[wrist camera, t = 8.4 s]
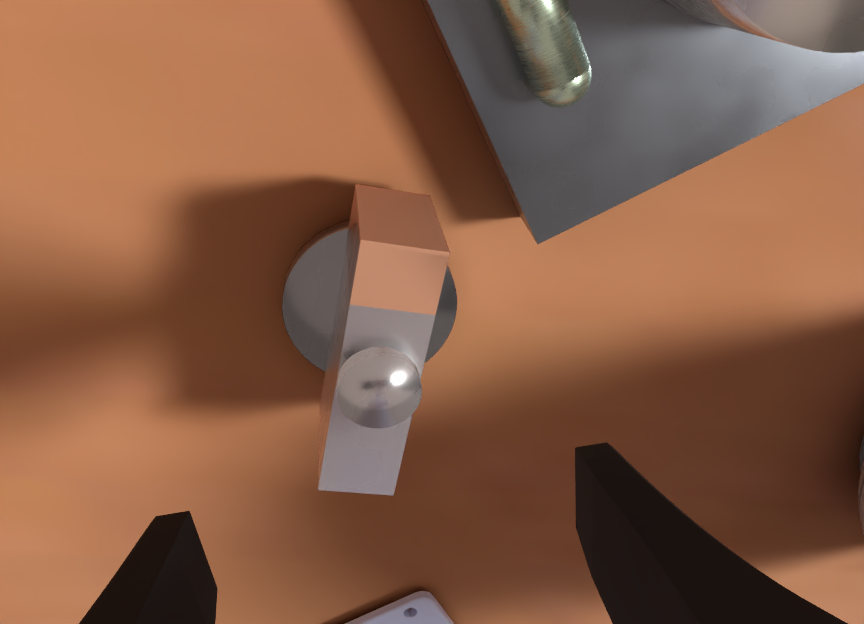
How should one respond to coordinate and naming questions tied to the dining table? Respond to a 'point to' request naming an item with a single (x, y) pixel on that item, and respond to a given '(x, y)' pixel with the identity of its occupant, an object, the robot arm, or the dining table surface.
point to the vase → (861, 486)
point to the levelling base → (636, 87)
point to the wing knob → (370, 330)
